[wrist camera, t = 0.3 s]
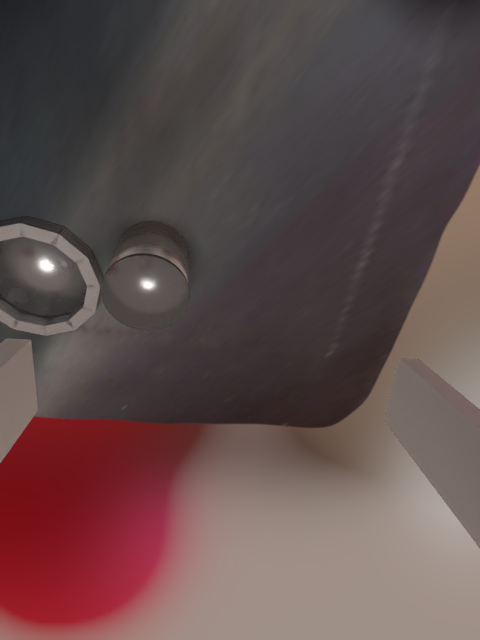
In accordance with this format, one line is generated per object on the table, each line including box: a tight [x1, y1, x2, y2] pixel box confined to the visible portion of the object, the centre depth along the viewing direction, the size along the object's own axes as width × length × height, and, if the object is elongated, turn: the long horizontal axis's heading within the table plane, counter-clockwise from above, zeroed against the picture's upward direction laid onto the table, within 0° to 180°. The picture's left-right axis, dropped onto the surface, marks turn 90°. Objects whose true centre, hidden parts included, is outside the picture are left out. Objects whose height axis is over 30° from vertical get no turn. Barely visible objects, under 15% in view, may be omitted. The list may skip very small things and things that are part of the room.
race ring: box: [0, 216, 103, 336], centre depth 38 cm, size 12×12×2 cm
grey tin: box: [101, 221, 190, 331], centre depth 35 cm, size 7×7×8 cm
